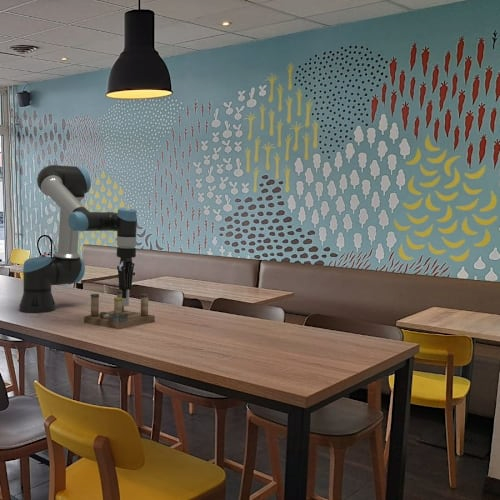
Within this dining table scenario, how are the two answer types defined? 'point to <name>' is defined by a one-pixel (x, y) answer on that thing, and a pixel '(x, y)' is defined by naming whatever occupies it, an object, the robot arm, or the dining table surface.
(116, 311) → the swing leg
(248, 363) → the dining table surface
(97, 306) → the stool seat
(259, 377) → the dining table surface
